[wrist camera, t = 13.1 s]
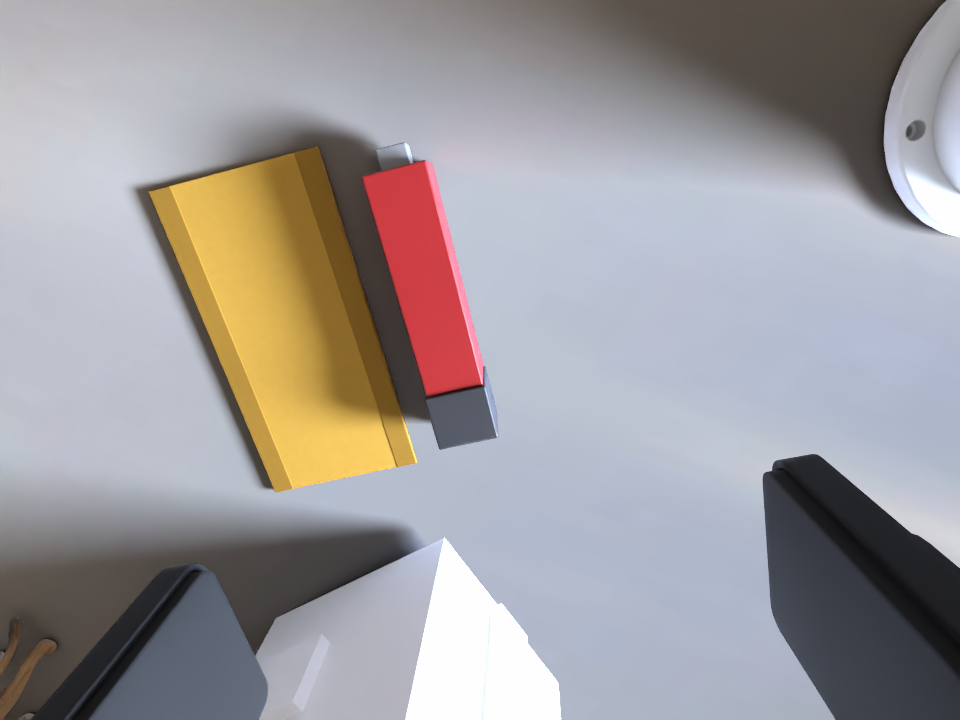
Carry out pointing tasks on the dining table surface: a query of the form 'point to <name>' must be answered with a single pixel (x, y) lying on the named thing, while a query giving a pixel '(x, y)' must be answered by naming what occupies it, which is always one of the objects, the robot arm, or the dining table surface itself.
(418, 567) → the blocky voxel creature
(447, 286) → the marker
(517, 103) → the dining table surface
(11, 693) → the lion figurine
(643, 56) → the dining table surface
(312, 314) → the mustard cloth
